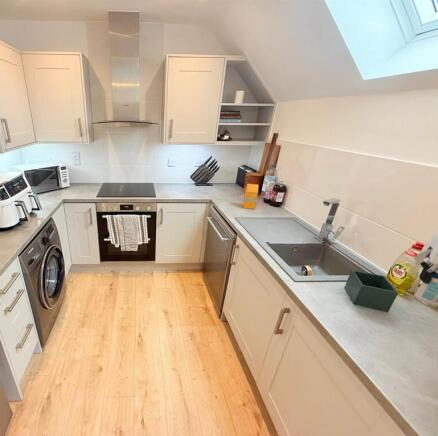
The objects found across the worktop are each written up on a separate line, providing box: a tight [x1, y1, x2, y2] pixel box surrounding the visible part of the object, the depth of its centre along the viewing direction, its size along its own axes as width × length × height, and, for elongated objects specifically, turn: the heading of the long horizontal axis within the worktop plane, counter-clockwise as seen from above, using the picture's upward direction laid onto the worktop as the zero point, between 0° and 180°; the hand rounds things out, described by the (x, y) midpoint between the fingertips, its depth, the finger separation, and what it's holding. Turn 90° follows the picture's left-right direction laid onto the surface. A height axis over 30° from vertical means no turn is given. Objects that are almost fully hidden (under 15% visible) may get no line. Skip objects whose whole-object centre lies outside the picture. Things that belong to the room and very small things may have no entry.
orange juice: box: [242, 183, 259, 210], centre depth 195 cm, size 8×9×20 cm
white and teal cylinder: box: [414, 267, 438, 306], centre depth 71 cm, size 5×5×12 cm
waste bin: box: [343, 269, 399, 313], centre depth 97 cm, size 11×11×10 cm
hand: (435, 282), depth 71 cm, fingers closed on white and teal cylinder, 4 cm apart
